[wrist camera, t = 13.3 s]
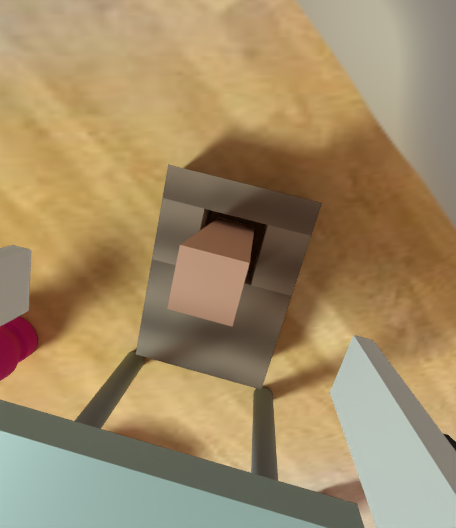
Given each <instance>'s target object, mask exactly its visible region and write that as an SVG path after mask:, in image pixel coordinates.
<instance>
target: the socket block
mask: <svg viewBox="0 0 456 528" xmlns="http://www.w3.org/2000/svg"><path fill="white" fill-rule="evenodd" d="M321 204H322V203H320V202H316V201H312V200H308V199H304V198H300V197H296V196H292V195H288V194H284V193H280V192H276V191H272V190H268V189H264V188H260V187H256V186H252V185H248V184H244V183H240V182H236V181H232V180H228V179H224V178H220V177H216V176H212V175H208V174H204V173H200V172H196V171H192V170H188V169H184V168H180V167H176V166H172V165H168V170H167V175H166V181H165V187H164V193H163V199H162V204H161V210H160V216H159V222H158V228H157V234H156V239H155V245H154V251H153V257H152V263H151V268H150V274H149V280H148V286H147V292H146V297H145V303H144V309H143V315H142V321H141V327H140V332H139V338H138V344H137V350H136V355H140V356H143V357H147V358H150V359H154V360H158V361H161V362H165V363H168V364H172V365H175V366H179V367H183V368H186V369H190V370H193V371H197V372H201V373H204V374H208V375H211V376H215V377H218V378H222V379H226V380H229V381H233V382H236V383H240V384H243V385H247V386H251V387H254V388H258V389H262V386H263V383H264V379H265V376H266V373H267V370H268V367H269V364H270V361H271V358H272V355H273V352H274V349H275V346H276V343H277V339H278V336H279V333H280V330H281V327H282V324H283V321H284V318H285V315H286V312H287V309H288V306H289V303H290V299H291V296H292V293H293V290H294V287H295V284H296V281H297V278H298V275H299V272H300V269H301V266H302V263H303V259H304V256H305V253H306V250H307V247H308V244H309V241H310V238H311V235H312V232H313V229H314V226H315V223H316V219H317V216H318V213H319V210H320V207H321ZM212 211H216V212H220V213H223V214H227V215H231V216H235V217H239V218H243V219H247V220H251V221H255V222H259V223H263V224H265V227H264V231H263V235H262V238H261V242H260V246H259V249H258V253H257V256H256V260H255V264H254V267H253V271H251V270H248V271H247V275H246V278H245V282H244V286H243V289H242V293H241V297H240V300H239V304H238V308H237V311H236V315H235V319H234V323H233V326H228V325H224V324H221V323H217V322H213V321H210V320H206V319H202V318H199V317H195V316H191V315H188V314H184V313H180V312H176V311H173V310H169V309H167V307H168V302H169V297H170V292H171V287H172V282H173V277H174V272H175V267H176V262H177V257H178V252H179V247H180V244H182V243H183V242H185V241H186V240H187V239H189V238H190V237H192V236H193V235H195V234H196V233H197V232H199V231H200V230H202V229H203V228H205V227H206V226H208V225H209V221H210V217H211V212H212Z"/></svg>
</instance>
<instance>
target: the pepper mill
mask: <svg viewBox="0 0 456 528" xmlns="http://www.w3.org/2000/svg"><path fill="white" fill-rule="evenodd" d="M36 347H37V335H36V332H35V330H34V328H33V327H32V326H31V324H30V323H29V322H27V321H26V320H25V319H23V318H21V317H19V316H18V317H17V318H15V319H13V320H11V321H9V322H7V323H5V324H4V325H2V326H0V381H1V380H2V379H4V378H5V377H7V376H8V375H10V374H11V373H12V372H13V371H14V370H15V368H16V366H17V364H18V362H20V361H22V360H24V359H25V358H26V357H28V356H29V355H31V354H32V353H33V352H34V351H35V349H36Z"/></svg>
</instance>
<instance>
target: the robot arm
mask: <svg viewBox="0 0 456 528" xmlns="http://www.w3.org/2000/svg"><path fill="white" fill-rule="evenodd" d="M30 270H31V250H30V249H27V248H23V247H19V246H15V245H11V246H7V247H3V248H0V326H2V325H4V324H5V323H7V322H9V321H11V320H13V319H15V318H17V317H18V316H20V315H22V314H24V313H26V312H28V311H29V294H30ZM330 395H331V398H332V401H333V403H334V406H335V409H336V412H337V415H338V418H339V421H340V424H341V427H342V430H343V432H344V435H345V438H346V441H347V444H348V447H349V450H350V453H351V456H352V458H353V461H354V464H355V467H356V470H357V473H358V476H359V479H360V482H361V484H362V487H363V490H364V493H365V496H366V499H367V502H368V505H369V508H370V511H371V513H372V516H373V519H374V522H375V525H376V528H456V442H455V441H454V440H453V439H452V438H451V437H450V436H449V435H446V434H443V433H442V432H441V431H440V429H439V428H438V427H437V425H436V424H435V423H434V421H433V420H432V418H431V417H430V416H429V414H428V413H427V412H426V410H425V409H424V408H423V406H422V405H421V404H420V402H419V401H418V400H417V398H416V397H415V396H414V394H413V393H412V392H411V390H410V389H409V388H408V386H407V385H406V384H405V382H404V381H403V380H402V378H401V377H400V376H399V374H398V373H397V371H396V370H395V369H394V367H393V366H392V365H391V363H390V362H389V361H388V359H387V358H386V357H385V355H384V354H383V353H382V351H381V350H380V349H379V347H378V346H377V345H376V343H375V342H374V341H373V340H371V339H367V338H363V337H359V336H356V335H353V338H352V340H351V342H350V345H349V347H348V350H347V352H346V355H345V357H344V359H343V362H342V364H341V367H340V369H339V372H338V374H337V376H336V379H335V381H334V384H333V386H332V389H331V391H330Z"/></svg>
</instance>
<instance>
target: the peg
mask: <svg viewBox="0 0 456 528" xmlns="http://www.w3.org/2000/svg"><path fill="white" fill-rule="evenodd" d="M254 227H255V226H251V225H247V224H243V223H239V222H235V221H231V220H227V219H223V218H220V217H219V218H218V219H216V220H215V221H213V222H212V223H210V224H209V225H208V226H206V227H205V228H203V229H202V230H200V231H199V232H197V233H196V234H195V235H193V236H192V237H190V238H189V239H187V240H186V241H185V242H183V243H182V244H180V247H179V252H178V257H177V262H176V267H175V272H174V277H173V282H172V287H171V292H170V297H169V302H168V307H167V309H169V310H173V311H176V312H180V313H184V314H188V315H191V316H195V317H199V318H202V319H206V320H210V321H213V322H217V323H221V324H224V325H228V326H233V323H234V319H235V315H236V311H237V308H238V304H239V300H240V297H241V293H242V289H243V286H244V282H245V278H246V275H247V271H248V267H249V264H250V257H251V249H252V242H253V235H254Z"/></svg>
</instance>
